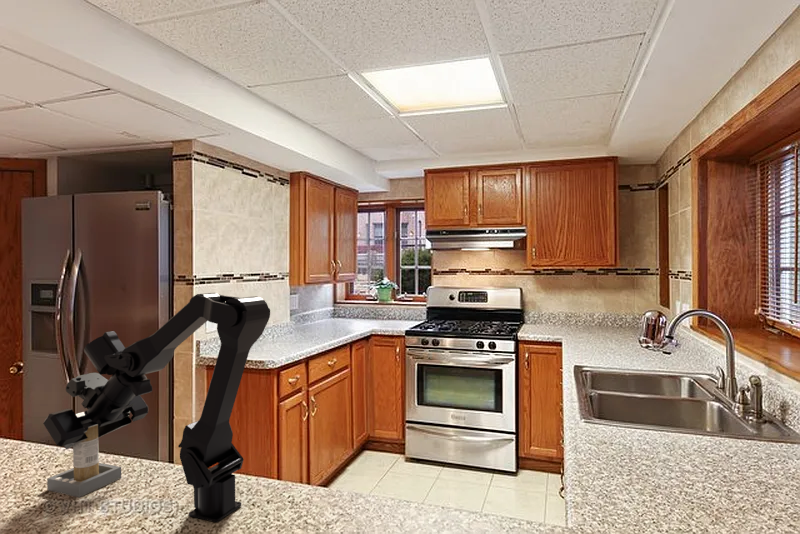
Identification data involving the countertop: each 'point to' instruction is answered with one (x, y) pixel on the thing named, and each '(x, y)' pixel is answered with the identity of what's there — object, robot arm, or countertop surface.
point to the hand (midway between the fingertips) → (80, 442)
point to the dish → (71, 487)
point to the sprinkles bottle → (86, 455)
